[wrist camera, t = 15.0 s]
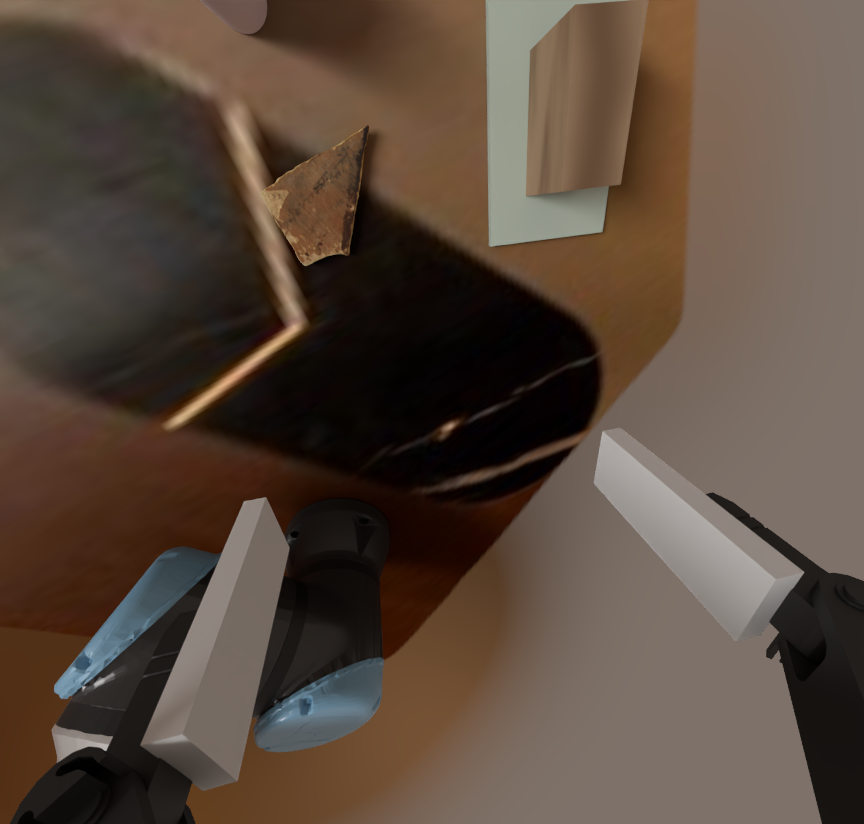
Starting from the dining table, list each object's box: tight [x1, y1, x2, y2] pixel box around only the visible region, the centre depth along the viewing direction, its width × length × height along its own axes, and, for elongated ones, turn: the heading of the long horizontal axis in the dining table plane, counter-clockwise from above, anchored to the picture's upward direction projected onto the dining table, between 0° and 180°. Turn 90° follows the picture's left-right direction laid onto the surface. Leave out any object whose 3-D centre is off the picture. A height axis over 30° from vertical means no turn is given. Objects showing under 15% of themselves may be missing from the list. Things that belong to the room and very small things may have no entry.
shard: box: [261, 126, 369, 266], centre depth 31 cm, size 11×8×2 cm
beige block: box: [526, 0, 648, 196], centre depth 27 cm, size 5×10×7 cm, turn 6°
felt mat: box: [486, 0, 629, 246], centre depth 31 cm, size 18×12×1 cm, turn 6°
